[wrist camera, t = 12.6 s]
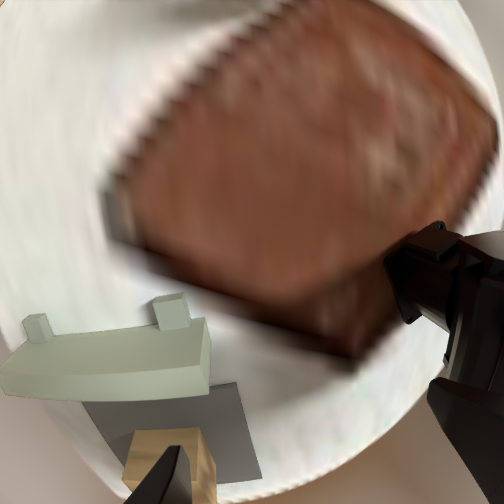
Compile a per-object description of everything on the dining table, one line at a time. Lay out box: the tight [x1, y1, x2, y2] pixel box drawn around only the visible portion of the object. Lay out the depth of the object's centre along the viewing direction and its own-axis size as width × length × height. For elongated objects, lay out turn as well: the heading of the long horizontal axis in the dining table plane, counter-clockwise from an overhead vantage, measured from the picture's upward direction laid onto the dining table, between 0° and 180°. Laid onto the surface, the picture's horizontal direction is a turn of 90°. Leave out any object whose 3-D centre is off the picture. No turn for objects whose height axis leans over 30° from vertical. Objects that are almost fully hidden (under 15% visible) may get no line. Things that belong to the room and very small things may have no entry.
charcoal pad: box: [82, 383, 262, 484], centre depth 22 cm, size 14×14×1 cm
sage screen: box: [0, 292, 211, 401], centre depth 16 cm, size 6×16×6 cm, turn 100°
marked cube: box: [121, 427, 217, 504], centre depth 19 cm, size 6×6×6 cm
